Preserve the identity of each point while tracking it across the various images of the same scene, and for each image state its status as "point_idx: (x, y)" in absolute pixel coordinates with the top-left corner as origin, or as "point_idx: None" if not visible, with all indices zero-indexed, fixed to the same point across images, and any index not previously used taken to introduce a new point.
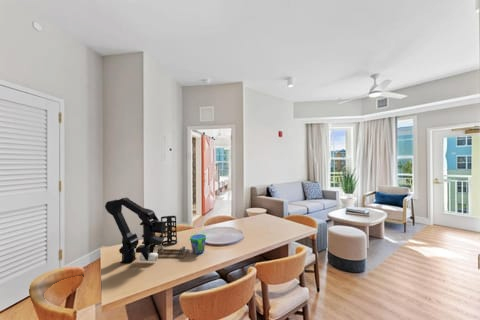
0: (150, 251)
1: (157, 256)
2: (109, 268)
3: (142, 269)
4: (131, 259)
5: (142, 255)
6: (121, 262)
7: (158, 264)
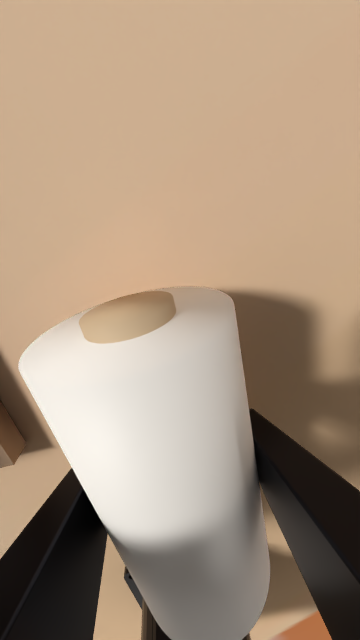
0: (71, 597)
1: (83, 316)
2: None
3: (356, 338)
4: None
5: (262, 578)
6: None
7: (182, 201)
